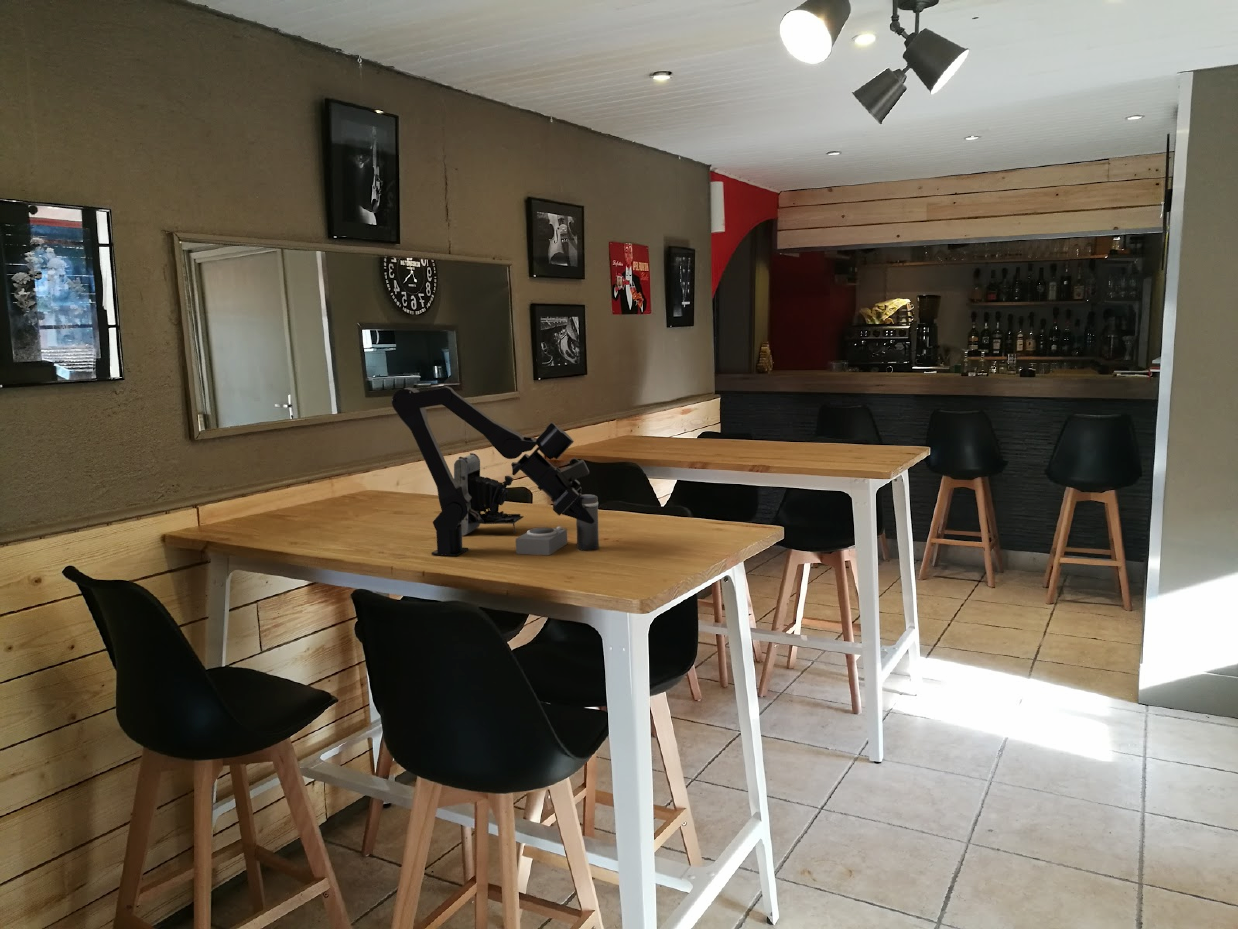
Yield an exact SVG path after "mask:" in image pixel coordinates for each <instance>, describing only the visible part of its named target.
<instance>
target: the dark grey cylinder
mask: <svg viewBox="0 0 1238 929" xmlns="http://www.w3.org/2000/svg"><path fill="white" fill-rule="evenodd" d="M598 498H599V497H598V496H597V495H595V494H587V493H586V494H581V503H582V505H583V506H584V507H585V508H586V510H587V511H588V512H589V514H590V515H591V516H592V518H593V519H594V520H595V521H594V523H593V524H589V523H587V522H584V521H581V520H578V519H576V521H575V522H576V549H577V550H578V551H580V552H592V551H597V550H599V549H600V544H599V543H600V540H599V539H600V538H599V537H600V536H599V535H600V533H599V501H598V500H599V499H598Z"/></svg>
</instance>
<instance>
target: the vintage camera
mask: <svg viewBox="0 0 1238 929" xmlns="http://www.w3.org/2000/svg"><path fill="white" fill-rule="evenodd" d="M453 478H454V480H455V481H456V482H457V483H458V484H459V485H461V484H462V483H465V485H466V488H467V491H468V493H469V495H470V496H471V497H472V498H471V500H470V502H471V508H470V511H469V512H468V514H467V515H466V517H465V518H464V519H463V520H462V522H461V523H460V524H461V526H462V537H463V536H466V535H468V534H470V533H471V532H473V531H475V530H476V529H478V528H479V527H480V525H505V524H507V525H509V524H512V527H513V533H514V534H516V527H515V524H516V523H517V522H519V521H520V520H522V519H523V518H524V515H522V516H521V513H504V510H501V511H499V510H500V509H499V508H500V506H503V504H504V503H505V501H506V499H507V497H508V493H509V490H508V489H509V488H507V487H508V486H511V485H512V483H513V481H514V478H513V477H512V476H510V475H504V481H503V482H499V481H498V480H496V479H493V478H490V477H487V476H485V477H484V476H481V459H480V457H479V456H478V455H477V454H476V453H474V452H470V453H469V455H466V456H459V457H458V459H455V461H454V463H453ZM482 512H483V513H482Z"/></svg>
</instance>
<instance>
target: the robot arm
mask: <svg viewBox="0 0 1238 929" xmlns="http://www.w3.org/2000/svg"><path fill="white" fill-rule="evenodd" d="M391 406H392V408H393V410H394V411H395V412H396V414H397V415H398V417H399V419H401V421H402V422H403V423H404V424H405V425H406V426H407V428H409V430H410V432H411V434H412V436H413V438H414V440H415V443H416V444H417V447H418V448H419V452H420V454H421V455H422V458H423V460H424V462H425V464H426V466H427V468H428V471H429V473H430V475H431V477H432V479H433V482H434V484H435V486H436V489H437V497H438V502H439V506H440V509H441V511H440V513H439V514H438V515H437V516H436V517H435V518H434V519H433V521H432V525H433V527H434V529H435V531H436V532H435V533H436V550H434V551H432V552H431V556H446V557H447V556H450V557H457V556H460V555H462V554H463V553H465V552H467V551H469V550H470V549H469V547H466V546H465V547H464V546H463V536H462V526H461V524H460V523H461V522H462V520H463V519H464V518H465V517H466V515H467V514H468V512H469V511H470V508H471V502H470V500H471V498H472V497H471V496H470V495H469V493H468V491H467V488H466V485H465V483H462V484H461V485H459V484H458V483H457V482H456V481H455V480H454V475H452V472H451V470H450V468H449V466H448V464H447V461H446V459H445V457H444V455H443V452H442V450H441V448H440V446H439V443H438V442H437V440H436V438H435V434H434V433H433V431H432V429H431V427H430V425H429V422H428V415H427V408H428V407H434V406H444V408H446V409H448V410H449V411H450V412H452V413H453V414H454V415H456V416H457V417H458V418H459V419H461V420H463V421H464V422H465V423H467V424H468V425H470V426H471V427H472V429H474V430H476V431H478V432H479V433H480V434H482V435H483V436H484V437H485V438H486V439H487V440H488V441H489V444H491V446H492V447H493V448H494V449H495V450H496V451H497V452H498V453H499V454H500V455H501V456H502V457H503V458H505V459H507V460H513V459H514V460H515V459H517V458H519V457H520V456H521V455H522V454H523V455H522V457H520V458H519V459H518V461H517V462H516V461H514V462H511V464H510V465H511V468H512V469H511V471H512V473H511V475H513V476H516V475H517V474H518V473H519V471H521V472H522V473H523V474H524V475H525V476H526V477H527V478H529V479H530V480H531V481H532V482H533V483H534V485H536V486H537V489H538V490H539V491H542V492H544V493H545V494H546V495H547V496H548V498H550V501H551V502H552V511H553V512H554V513H556V514H557V516H561V515H563V516H567V517H569V518H573V519H578V520H581V521H584V522H587V523H589V524H593V523H594V521H595V520H594V519H593V518H592V516H591V515H590V514H589V512H588V511H587V510H586V508H585V507H584V506H583V505H582V503H581V495H582V487H581V486H580V485H581V482H580V481H579V480H577V479H580V478H582V477H583V478H584V477H586V476H588V475H589V474H590V470H589V467H588V466H587V463H586V462H585V460H584V459H580V460H579V459H578V458H576V457H573V458H571V459H570V460H569V465H568V466H566V467H565V468H562V469H561V468H560V467H559V466H554V465H552V463H551V462H550V461H551V460H553V459H555V460H558V459H559V458H560V457H561V456H562V455H564V453H565V452H566V451H567V450H568V449H569V448H570V447H571V445H572V444H574V442H575V440H574V439H573V438H572V437H571V436H570V435H569V434H568V433H567V432H566V431H565V430H564V429H561V428H560V427H558V425H556V424H555V423H554V422H553V421H552V422H550V423H549V424H548V425H547V426H546V428H545V429H544V431H542V432H541V433H540V435H539V436H538V437H533V436H532V437H528V436H523V435H522V434H521V433H520V432H518V431H516V430H514V429H512V428H510V427H508V426H506V425H503V424H502V423H499V422H497V421H495V420H494V419H492V418H491V417H490V416H488V415H487V414H485V413H484V412H483V411H482V410H480V409H479V408H477V407H476V406H475V405H473V404H472V403H471V402H469V401H467V399H465V398H464V397H463V396H461V395H460V394H458V393H457V392H456V391H455V390H454V389H453V388H452V387H450V386H442V387H440V388H439V387H438V388H431V389H430V388H429V389H424V390H419V389H417V388H414V387H405V388H401V389H399V390H397V391H396V392H395V393H394V394H393V396H392V398H391ZM536 446H537V447H536ZM535 447H536V449H534V448H535ZM533 449H534V450H533ZM531 451H532V453H530V454H527V452H531ZM539 451H540V452H539ZM542 454H543V455H542ZM545 457H546V458H547V459H549V460H550V461H549V460H547V459H546V458H545ZM577 487H578V488H577ZM576 488H577V489H576Z"/></svg>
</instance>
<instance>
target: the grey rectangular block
mask: <svg viewBox="0 0 1238 929" xmlns="http://www.w3.org/2000/svg"><path fill="white" fill-rule="evenodd" d="M567 544H568V529H567V528H563V526H556V528H555V527H554V528H553V527H545V526H544V527H541V526H540V527H534V528H531V529H528V530H527V531H526V532H525V533H523V534H522V535H520V536H518V537H516V538H515V553H516V555H532V556H533V555H535V556H551V555H552V554H554V553H555V552H557V551H558V550H560V549H562V548H563V547H565V545H567Z"/></svg>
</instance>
